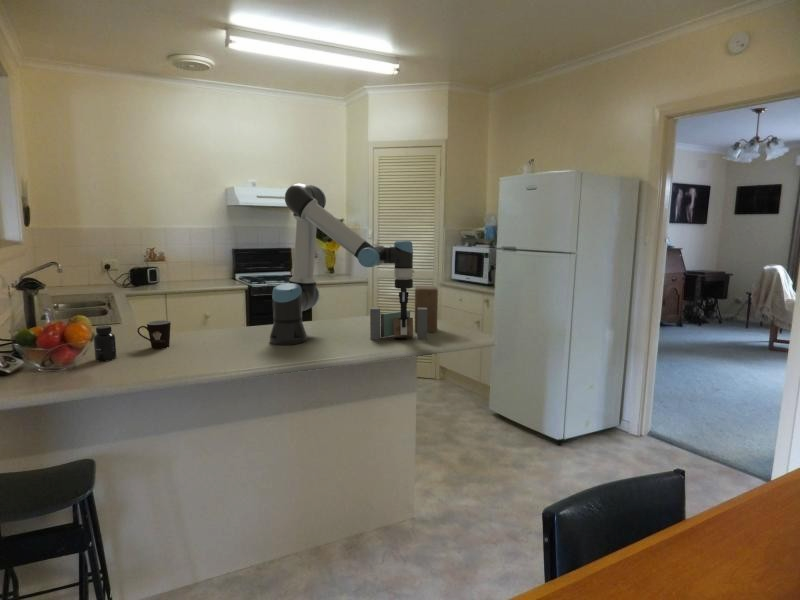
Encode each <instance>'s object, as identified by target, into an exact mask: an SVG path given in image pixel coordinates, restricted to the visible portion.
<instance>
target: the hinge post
mask: <svg viewBox="0 0 800 600" xmlns="http://www.w3.org/2000/svg"><path fill="white" fill-rule="evenodd" d="M369 310H370V311H369V314H370V315H369V316H370V318H369V319H370V321H369V323H370V326H369V328H370V332H369V335H370V338H369V339H370V340H381V307H376V306H375V307H373V306H372V307H370V309H369Z"/></svg>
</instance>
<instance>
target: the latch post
mask: <svg viewBox="0 0 800 600" xmlns="http://www.w3.org/2000/svg"><path fill="white" fill-rule="evenodd" d="M416 333H417V334H416V335H417V336H416V337H417V340H428V333H427V308H418V319H417V332H416Z"/></svg>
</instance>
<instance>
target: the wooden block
mask: <svg viewBox="0 0 800 600" xmlns="http://www.w3.org/2000/svg"><path fill="white" fill-rule="evenodd" d="M438 292H439V291H438V289H437V286H436V285H435V286H434V285H425V286H424V285H417V286H415V287H414V332H415V333H417V319H418V308H427V334H429V333H430V334H432V333H435V334H436V333H437V332H438V296H439V295H438V294H439V293H438Z"/></svg>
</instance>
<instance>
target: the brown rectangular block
mask: <svg viewBox="0 0 800 600" xmlns="http://www.w3.org/2000/svg"><path fill="white" fill-rule="evenodd" d="M413 338H414V317H410V318H408V319H407V335H401V320H399V318H394V335H393V339H413Z"/></svg>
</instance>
